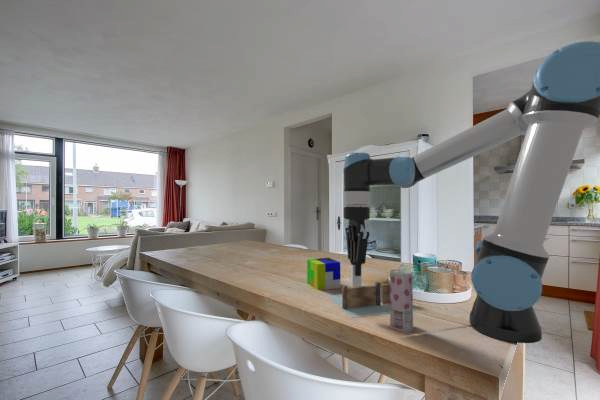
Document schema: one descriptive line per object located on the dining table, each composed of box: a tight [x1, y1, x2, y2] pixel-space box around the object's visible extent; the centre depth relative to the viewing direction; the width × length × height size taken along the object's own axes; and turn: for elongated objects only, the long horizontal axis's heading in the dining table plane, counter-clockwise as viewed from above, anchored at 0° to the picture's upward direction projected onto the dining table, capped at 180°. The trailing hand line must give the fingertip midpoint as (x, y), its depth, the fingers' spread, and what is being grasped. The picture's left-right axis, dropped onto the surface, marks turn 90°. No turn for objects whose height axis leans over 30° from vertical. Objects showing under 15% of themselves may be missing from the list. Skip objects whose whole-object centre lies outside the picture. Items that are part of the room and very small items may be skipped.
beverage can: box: [389, 268, 414, 333], centre depth 74 cm, size 6×6×15 cm
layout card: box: [327, 293, 418, 319], centre depth 92 cm, size 20×22×1 cm
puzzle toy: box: [306, 257, 342, 291], centre depth 113 cm, size 10×10×10 cm
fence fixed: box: [380, 282, 390, 304], centre depth 91 cm, size 8×2×7 cm, turn 105°
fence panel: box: [341, 281, 381, 309], centre depth 88 cm, size 13×2×7 cm, turn 106°
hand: (356, 285), depth 82 cm, fingers closed
